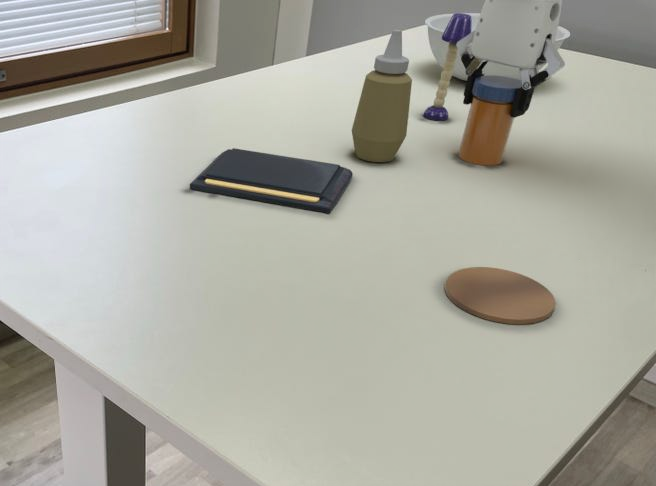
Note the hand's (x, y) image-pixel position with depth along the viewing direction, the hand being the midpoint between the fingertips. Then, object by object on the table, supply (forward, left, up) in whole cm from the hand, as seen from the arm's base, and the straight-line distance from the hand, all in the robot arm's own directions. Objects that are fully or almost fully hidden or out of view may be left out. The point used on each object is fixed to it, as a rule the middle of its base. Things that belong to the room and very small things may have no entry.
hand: (493, 108), depth 107 cm
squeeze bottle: (+10, +13, -8) cm, 18 cm away
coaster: (-25, +36, -8) cm, 44 cm away
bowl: (+26, -42, -8) cm, 50 cm away
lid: (0, 0, +3) cm, 3 cm away
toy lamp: (+16, -12, -8) cm, 21 cm away
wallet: (+12, +33, -8) cm, 36 cm away
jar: (0, 0, -8) cm, 8 cm away
